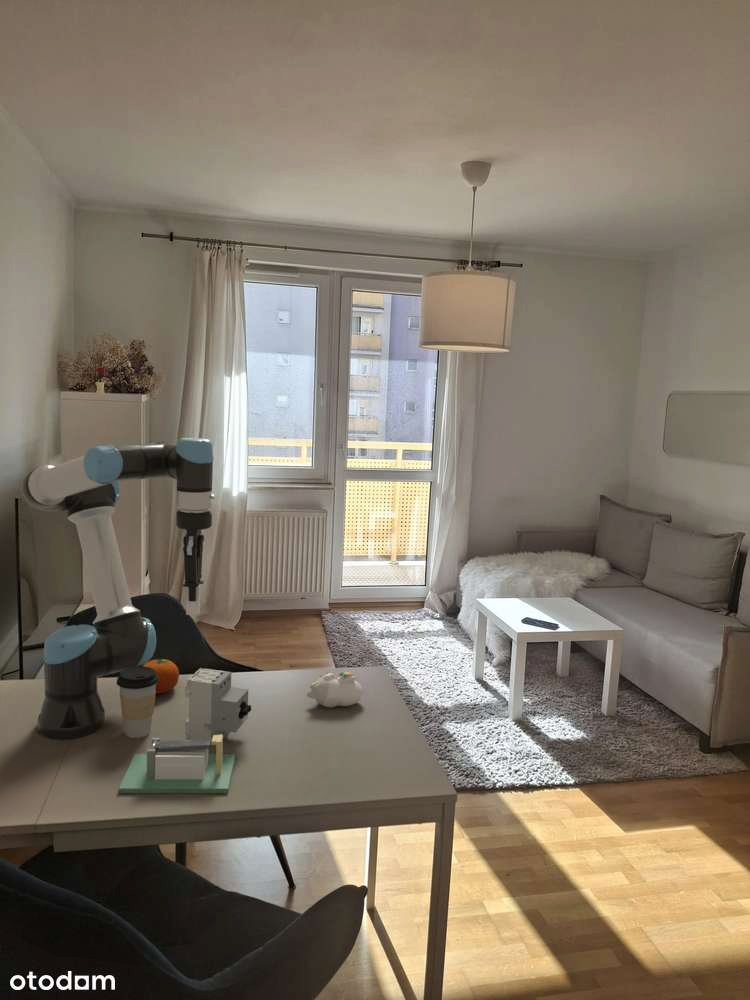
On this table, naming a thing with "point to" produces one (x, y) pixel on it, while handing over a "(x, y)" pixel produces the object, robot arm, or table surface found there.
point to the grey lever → (181, 744)
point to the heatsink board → (177, 785)
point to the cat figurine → (336, 690)
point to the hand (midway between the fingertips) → (193, 613)
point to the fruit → (164, 674)
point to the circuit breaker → (214, 705)
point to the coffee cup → (137, 699)
